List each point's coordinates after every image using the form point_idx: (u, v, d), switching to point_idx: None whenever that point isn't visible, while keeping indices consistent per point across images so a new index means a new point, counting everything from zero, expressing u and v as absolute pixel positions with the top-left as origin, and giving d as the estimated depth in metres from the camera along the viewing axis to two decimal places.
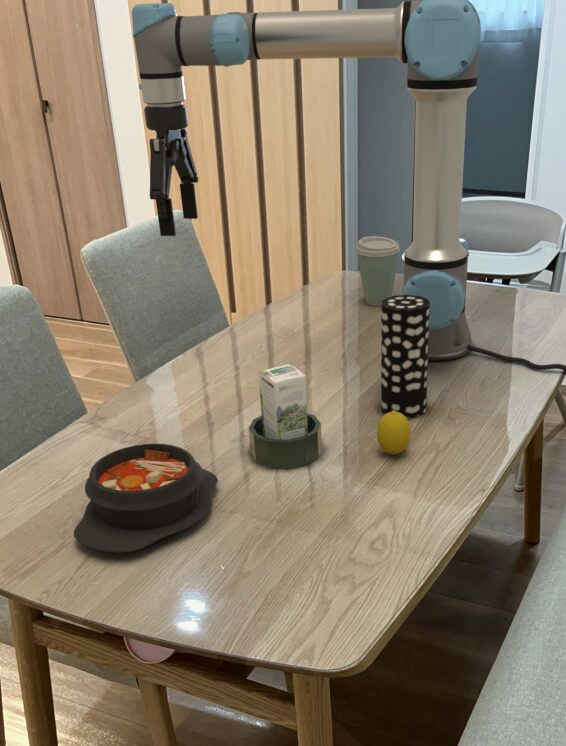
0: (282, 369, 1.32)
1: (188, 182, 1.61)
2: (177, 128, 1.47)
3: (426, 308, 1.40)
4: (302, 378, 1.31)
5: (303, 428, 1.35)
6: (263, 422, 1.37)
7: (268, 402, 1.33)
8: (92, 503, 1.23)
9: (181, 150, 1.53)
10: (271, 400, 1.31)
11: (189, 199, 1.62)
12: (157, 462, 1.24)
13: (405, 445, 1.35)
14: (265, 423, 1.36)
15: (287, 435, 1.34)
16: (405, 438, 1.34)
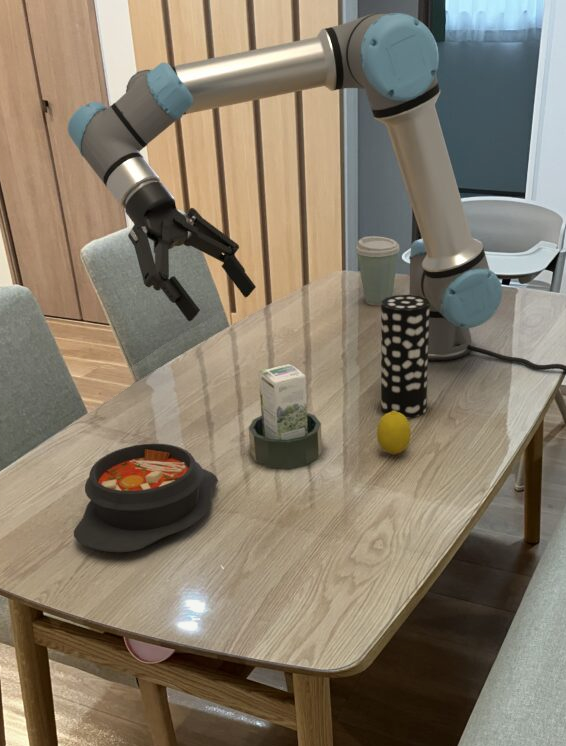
0: (282, 369, 1.32)
1: (228, 258, 1.36)
2: (152, 206, 1.28)
3: (426, 308, 1.40)
4: (302, 378, 1.31)
5: (303, 428, 1.35)
6: (263, 422, 1.37)
7: (268, 402, 1.33)
8: (92, 503, 1.23)
9: (184, 227, 1.32)
10: (271, 400, 1.31)
11: (236, 273, 1.36)
12: (157, 462, 1.24)
13: (405, 445, 1.35)
14: (265, 423, 1.36)
15: (287, 435, 1.34)
16: (405, 438, 1.34)
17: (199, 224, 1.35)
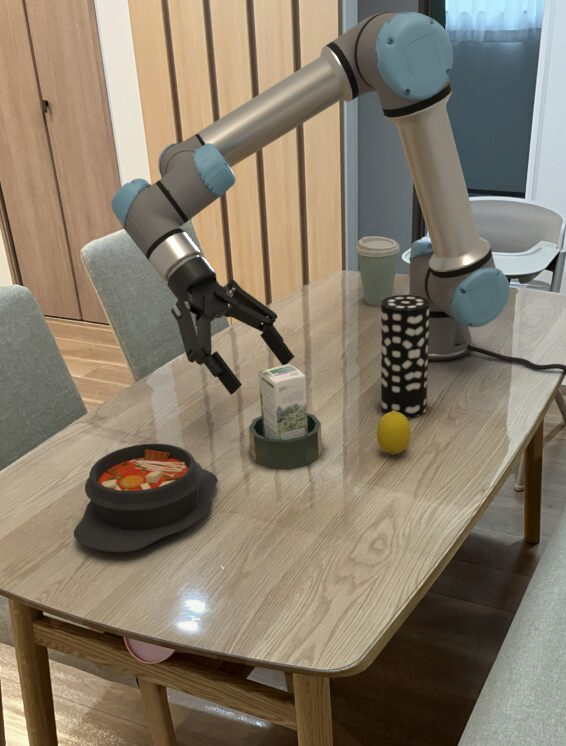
0: (282, 369, 1.32)
1: (266, 328, 1.39)
2: (195, 281, 1.30)
3: (426, 308, 1.40)
4: (302, 378, 1.31)
5: (303, 428, 1.35)
6: (263, 422, 1.37)
7: (268, 402, 1.33)
8: (92, 503, 1.23)
9: (225, 300, 1.34)
10: (271, 400, 1.31)
11: (275, 343, 1.38)
12: (157, 462, 1.24)
13: (405, 445, 1.35)
14: (265, 423, 1.36)
15: (287, 435, 1.34)
16: (405, 438, 1.34)
17: (239, 295, 1.37)
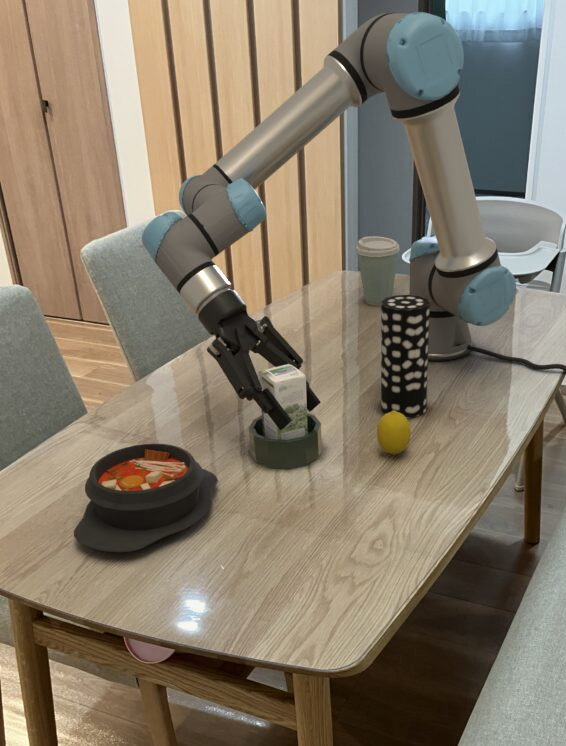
0: (282, 369, 1.32)
1: None
2: (226, 315, 1.29)
3: (426, 308, 1.40)
4: (302, 378, 1.31)
5: (303, 428, 1.35)
6: (263, 422, 1.37)
7: None
8: (92, 503, 1.23)
9: (254, 334, 1.33)
10: None
11: None
12: (157, 462, 1.24)
13: (405, 445, 1.35)
14: (265, 423, 1.36)
15: (287, 435, 1.34)
16: (405, 438, 1.34)
17: (269, 332, 1.36)
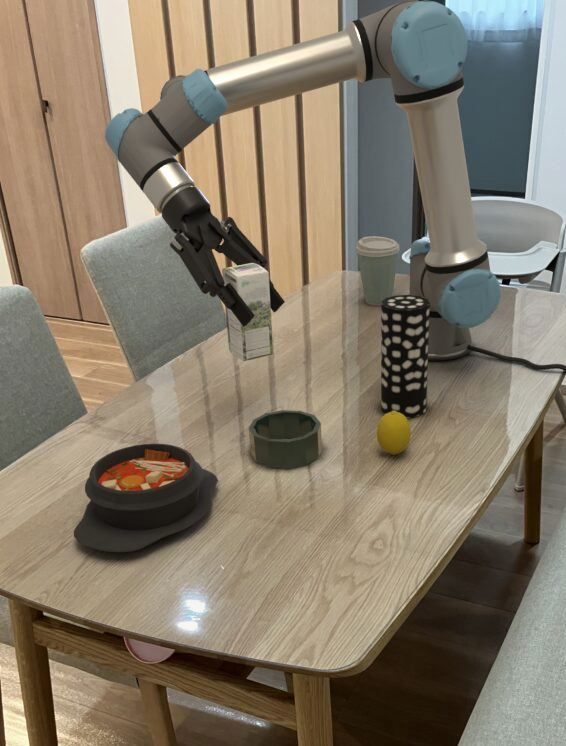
0: (245, 266, 1.33)
1: None
2: (189, 210, 1.30)
3: (426, 308, 1.40)
4: (265, 274, 1.32)
5: (267, 327, 1.36)
6: (228, 322, 1.38)
7: None
8: (92, 503, 1.23)
9: (217, 232, 1.34)
10: None
11: None
12: (157, 462, 1.24)
13: (405, 445, 1.35)
14: (229, 323, 1.37)
15: (251, 333, 1.35)
16: (405, 438, 1.34)
17: (233, 233, 1.37)
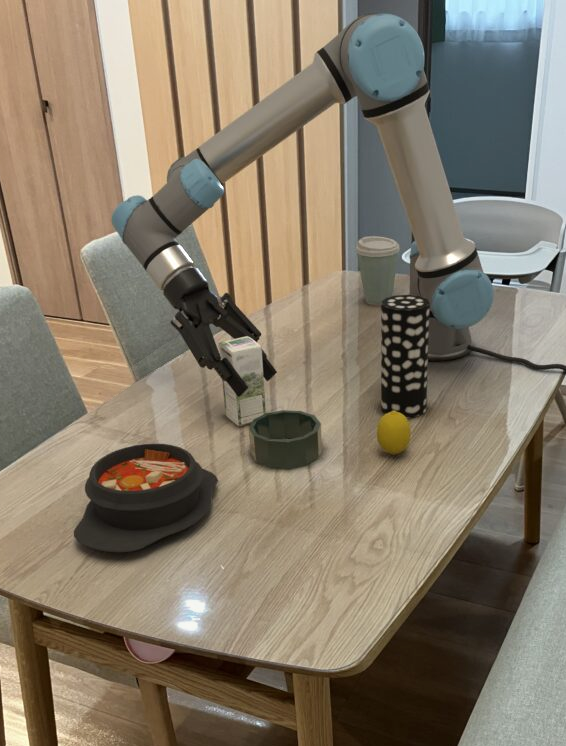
0: (240, 341, 1.44)
1: None
2: (188, 290, 1.41)
3: (426, 308, 1.40)
4: (258, 348, 1.42)
5: (260, 395, 1.47)
6: (224, 390, 1.48)
7: None
8: (92, 503, 1.23)
9: (215, 309, 1.45)
10: None
11: None
12: (157, 462, 1.24)
13: (405, 445, 1.35)
14: (225, 391, 1.48)
15: (245, 402, 1.46)
16: (405, 438, 1.34)
17: (229, 308, 1.48)
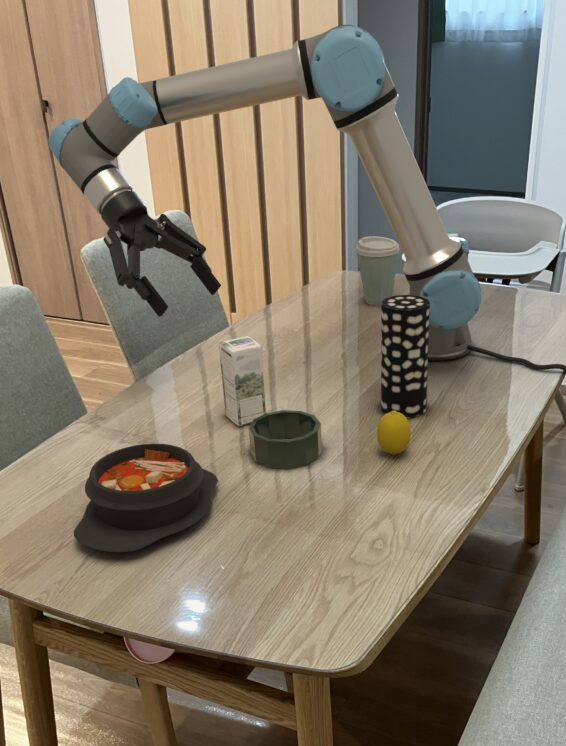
0: (240, 341, 1.44)
1: (196, 259, 1.50)
2: (125, 212, 1.41)
3: (426, 308, 1.40)
4: (258, 348, 1.42)
5: (260, 395, 1.47)
6: (224, 390, 1.48)
7: (227, 371, 1.44)
8: (92, 503, 1.23)
9: (155, 232, 1.45)
10: (230, 369, 1.43)
11: (203, 273, 1.49)
12: (157, 462, 1.24)
13: (405, 445, 1.35)
14: (225, 391, 1.48)
15: (245, 402, 1.46)
16: (405, 438, 1.34)
17: (169, 228, 1.49)
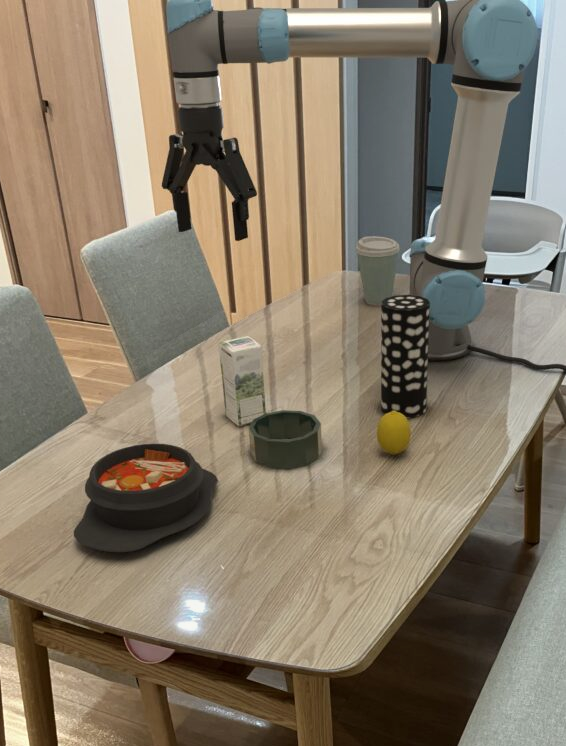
0: (240, 341, 1.44)
1: (180, 192, 1.50)
2: None
3: (426, 308, 1.40)
4: (258, 348, 1.42)
5: (260, 395, 1.47)
6: (224, 390, 1.48)
7: (227, 371, 1.44)
8: (92, 503, 1.23)
9: None
10: (230, 369, 1.43)
11: (185, 209, 1.51)
12: (157, 462, 1.24)
13: (405, 445, 1.35)
14: (225, 391, 1.48)
15: (245, 402, 1.46)
16: (405, 438, 1.34)
17: (181, 151, 1.46)
